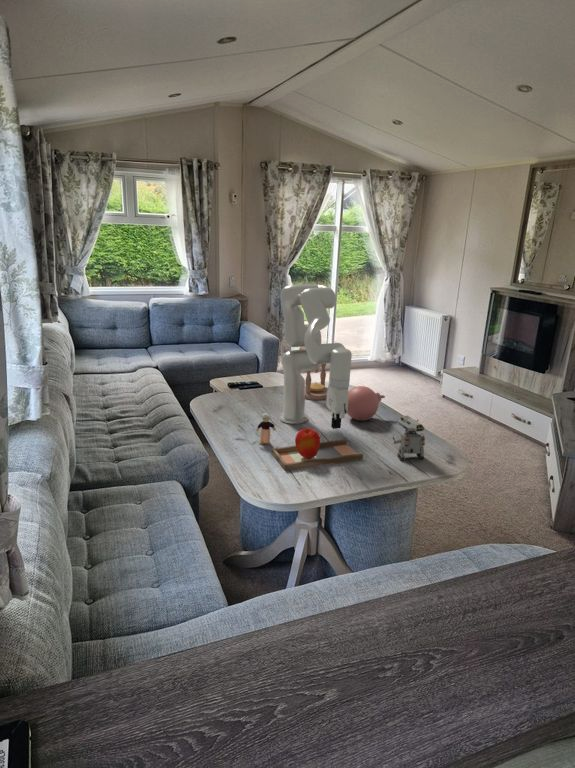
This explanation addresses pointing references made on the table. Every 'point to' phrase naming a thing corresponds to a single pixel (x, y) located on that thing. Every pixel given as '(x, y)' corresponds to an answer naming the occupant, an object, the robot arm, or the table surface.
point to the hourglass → (315, 385)
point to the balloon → (363, 403)
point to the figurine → (410, 438)
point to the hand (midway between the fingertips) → (335, 427)
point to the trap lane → (326, 455)
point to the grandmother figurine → (265, 429)
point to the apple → (307, 443)
